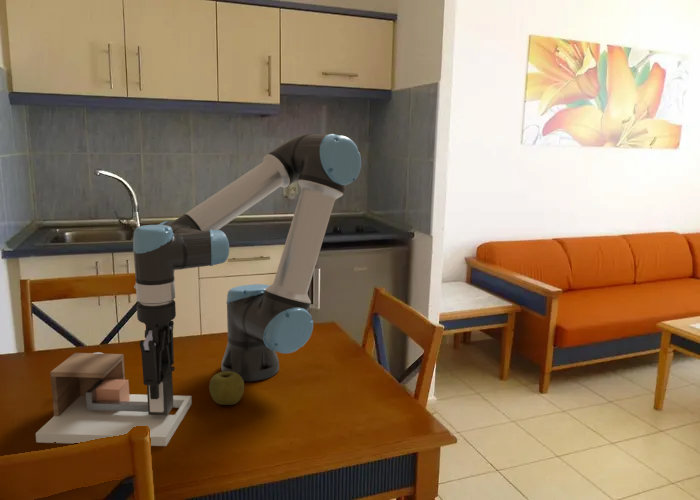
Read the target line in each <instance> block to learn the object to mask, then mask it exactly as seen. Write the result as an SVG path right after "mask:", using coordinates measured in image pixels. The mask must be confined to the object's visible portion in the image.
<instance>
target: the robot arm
mask: <svg viewBox="0 0 700 500" xmlns="http://www.w3.org/2000/svg"><path fill="white" fill-rule="evenodd" d="M361 169H362V157H361V153H360V152H359V148H358V146H357V144H356V143H355V142H354V141H353V140H352V139H351V138H350V137H347V136H345V135H339V134H335V133H329V134H324V133H323V134H319V133H318V134H317V133H315V134H314V133H304V134H300V135H298V136H295V137H293V138H291V139H289V140H288V141H286V142H284V143H282V144H281V145H279V146H277V147H275V149H273V150H271V151H270V152H269V153H267V154H265V155H264V157H263V159H262V162H260V164H257V165H256V166H254V167H253V168H252V169H251V170H249V171H247V172H246V173H244V174H243V175H241V176H240V177H237V179H235V180H234V181H232V182H231V183H229V184H228V185H226V186H224V187H223V188H222V189H220V190H219V191H218V192H215V194H212V195H211V196H210V197H208V198H206V199H205V200H204V201H202V202H201V203H199V204H197V205H196V206H195V207H193V208H192V209H190V210H189V211H188V212H186V213H184V214H182V215H180V217H178V218H176V219H175V220H173V221H172V220H170V221H169V220H168V221H163V222H160V223H159V224H148V225H141V226H138V227H136V228H135V229H134V231H133V238H132V239H133V240H132V242H133V243H132V244H133V246H132V252H133V260H134V273H135V274H134V275H135V284H134V286H133V288H134V289H135V295H136V301H137V304H136V315H137V316H136V317H137V320H138V322H140V323H142V324H144V325H145V330H144V338H145V339H143V340H142V339H141V340H139V347H140V351H141V361H142V362H141V363H142V364H141V365H142V378H143V379H142V380H143V385H144V386H147V385H149V401H150V412H163V411H164V397H163V382H161V363H172V372H175V369H176V368H175V366H173V365H174V363H175V360H174V359H175V358H174V357H175V356H174V353H175V352H174V324H175V323H174V320H175V318H176V315H177V313H176V312H177V311H176V310H177V309H176V301H175V300H174V299H175V298H176V284H175V271H178V270H179V271H180V270H186V269H192V268H193V269H195V268H200V267H203V268H204V267H209V266H210V267H213V266H217V265H220V264H224V263H225V262H226V261H227V260H228V258H229V255H230V243H229V239H228V237H227V235H226V233H225V232H224V231H223V230H220V229H221V228H223V227H225V226H226V225H228V224H229V223H230V222H232V221H233V220H234V219H237V217H239V216H240V215H242V214H243V213H244V212H246V211H248V209H250V208H252V207H253V206H255V205H256V204H257V203H259V202H260V201H262V200H263V199H265V198H266V197H267V196H269V195H271V194H272V193H273V192H275V191H276V190H277V189H279V188H280V187H281V188H283V189H284V188H287V187H289V186H290V185H292V184H293V183H295V182H297V183H298V185H299V187H300V189H301V190H300V194H299V198H298V201H297V204H296V207H295V210H294V213H293V217H292V220H291V224H290V226H289V231H288V233H287V237H286V239H285V240H286V241H285V243H284V247H283V251H282V254H281V257H280V260H279V263H278V266H277V270H276V273H275V276H274V280H273V282H272V284H271V285H270V284H262V283H260V284H259V283H257V284H256V283H255V284H253V283H252V284H244V285H239V286H234V287H232V288H229V290H228V291H227V295H226V313H227V316H226V317H227V318H226V321H227V324H226V325H227V344H226V347H225V352H224V355H223V357H222V360H221V364H220V365H221V369H220V370H221V372H224V371H232V372H235V373H237V374H239V375H240V376H241V377H242V379H243V381H244V382H256V381H257V382H258V381H262V380H266V379H270V378H271V377H274V376H275V375H276V374H277V373H278V372H279V370H280V360H279V358H278V354H279V353H280V354H292V353H294V352H296V351H297V352H298V350H299V349H300V348H302V347H304V345H306V343H307V342H308V341H309V339H311V336H312V333H313V330H314V320H313V319H312V318H313V317H312V315H311V314H310V313H309V310H310V307H311V303H312V301H311V299H310V297H309V295H308V294H309V293H308V292H309V289H310V284H311V281H312V280H313V279H312V278H313V275H314V271H315V269H316V265H317V262H318V258H319V255H320V251H321V248H322V245H323V240H324V238H325V235H326V231H327V228H328V225H329V222H330V217H331V214H332V211H333V208H334V205H335V202H336V200H338V199H339V198H341V197H343V196H344V193H345V189H346V186H348V185H350V184H352V183H353V182H354V181H356V180H357V179H358V177H359V175H360V172H361ZM277 353H278V354H277Z"/></svg>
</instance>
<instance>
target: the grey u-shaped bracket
mask: <svg viewBox="0 0 700 500" xmlns="http://www.w3.org/2000/svg"><path fill="white" fill-rule="evenodd" d="M172 367H173V365H172V363H161V382H163V397H164V411H163V412H150V401H149V385H146V393H147V394H146V395H147V397H148V402H133V401H101V400H97V397H96V388H97V387H99V386H100V385H101V384H102V383H103V382H104V381H105V380H98V381H97V382H96V383H95V384H94V385H93V386H92V387H91V388H90V389H89V390H88V391H87V392H86V404H87V410H105V411H137V412H148V415H170V412H171V410H172V409H173V395H174V391H173V390H174V389H173V388H174V386H173V383H174V382H173V371H172Z"/></svg>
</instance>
